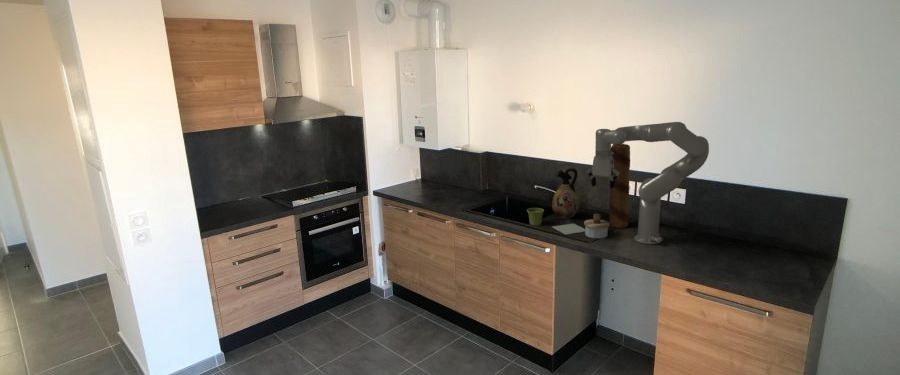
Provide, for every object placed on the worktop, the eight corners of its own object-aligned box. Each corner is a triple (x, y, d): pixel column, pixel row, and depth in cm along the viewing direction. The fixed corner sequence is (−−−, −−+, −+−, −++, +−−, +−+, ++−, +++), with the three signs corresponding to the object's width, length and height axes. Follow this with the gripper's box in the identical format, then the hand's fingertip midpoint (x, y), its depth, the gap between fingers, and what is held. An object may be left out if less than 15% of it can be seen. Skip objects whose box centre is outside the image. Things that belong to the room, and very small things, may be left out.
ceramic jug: (551, 221, 285) (552, 170, 278) (551, 213, 300) (552, 164, 293) (582, 221, 282) (584, 170, 275) (580, 214, 297) (581, 164, 290)
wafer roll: (603, 224, 277) (607, 143, 267) (619, 221, 280) (623, 142, 270) (615, 229, 267) (619, 146, 257) (631, 226, 270) (636, 144, 260)
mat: (588, 232, 264) (588, 230, 264) (565, 235, 260) (565, 234, 260) (573, 224, 277) (573, 223, 277) (551, 228, 273) (551, 226, 273)
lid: (614, 226, 253) (615, 216, 251) (593, 230, 249) (594, 219, 247) (599, 220, 264) (599, 210, 263) (579, 223, 260) (579, 213, 259)
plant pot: (524, 226, 278) (524, 211, 276) (530, 221, 286) (530, 207, 284) (540, 228, 273) (541, 213, 271) (545, 223, 281) (546, 208, 279)
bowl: (611, 237, 255) (611, 226, 253) (593, 240, 251) (593, 229, 250) (598, 231, 265) (599, 220, 263) (581, 234, 261) (581, 223, 260)
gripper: (623, 153, 246) (622, 187, 250) (590, 151, 258) (590, 183, 261) (616, 156, 241) (615, 190, 245) (583, 153, 252) (583, 186, 256)
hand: (602, 186), depth 253 cm, fingers open, 9 cm apart
